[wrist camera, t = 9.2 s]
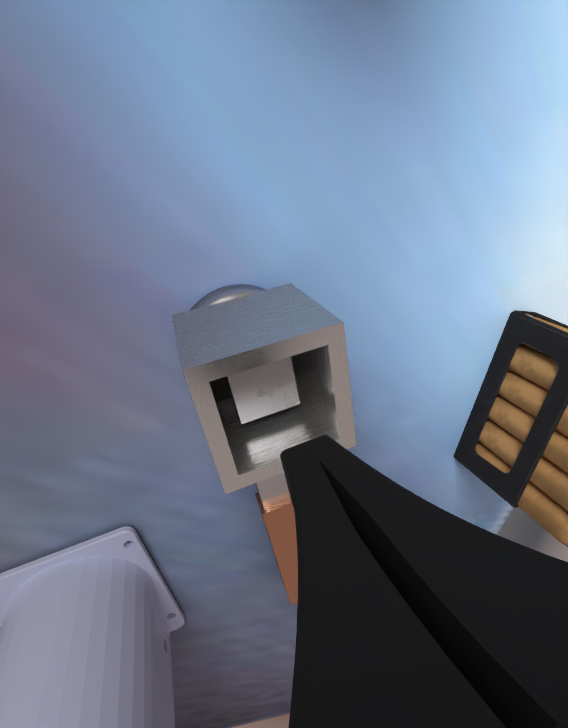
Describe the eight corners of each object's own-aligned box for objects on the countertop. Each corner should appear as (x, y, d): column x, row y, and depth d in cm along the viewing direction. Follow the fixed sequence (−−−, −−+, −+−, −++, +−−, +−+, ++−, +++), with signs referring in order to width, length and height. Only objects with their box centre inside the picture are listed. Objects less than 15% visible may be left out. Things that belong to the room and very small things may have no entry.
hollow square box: (307, 383, 18) (356, 445, 14) (205, 416, 18) (225, 494, 13) (290, 283, 16) (343, 321, 12) (171, 315, 15) (182, 370, 11)
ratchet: (160, 304, 16) (165, 344, 12) (284, 270, 17) (323, 297, 13) (264, 591, 27) (284, 662, 23) (338, 559, 28) (369, 621, 24)
